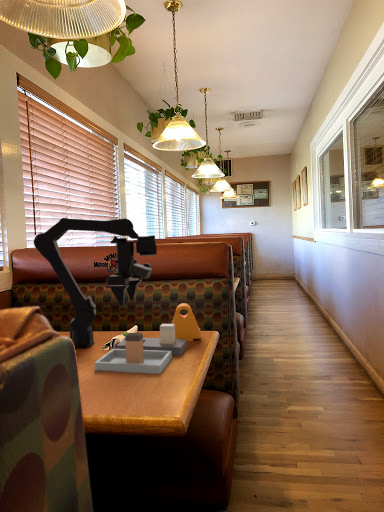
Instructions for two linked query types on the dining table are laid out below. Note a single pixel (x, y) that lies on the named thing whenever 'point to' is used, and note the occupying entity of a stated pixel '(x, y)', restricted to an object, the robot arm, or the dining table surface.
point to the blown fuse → (134, 348)
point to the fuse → (167, 334)
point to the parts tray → (117, 363)
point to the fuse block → (160, 345)
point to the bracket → (185, 324)
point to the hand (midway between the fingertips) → (127, 303)
